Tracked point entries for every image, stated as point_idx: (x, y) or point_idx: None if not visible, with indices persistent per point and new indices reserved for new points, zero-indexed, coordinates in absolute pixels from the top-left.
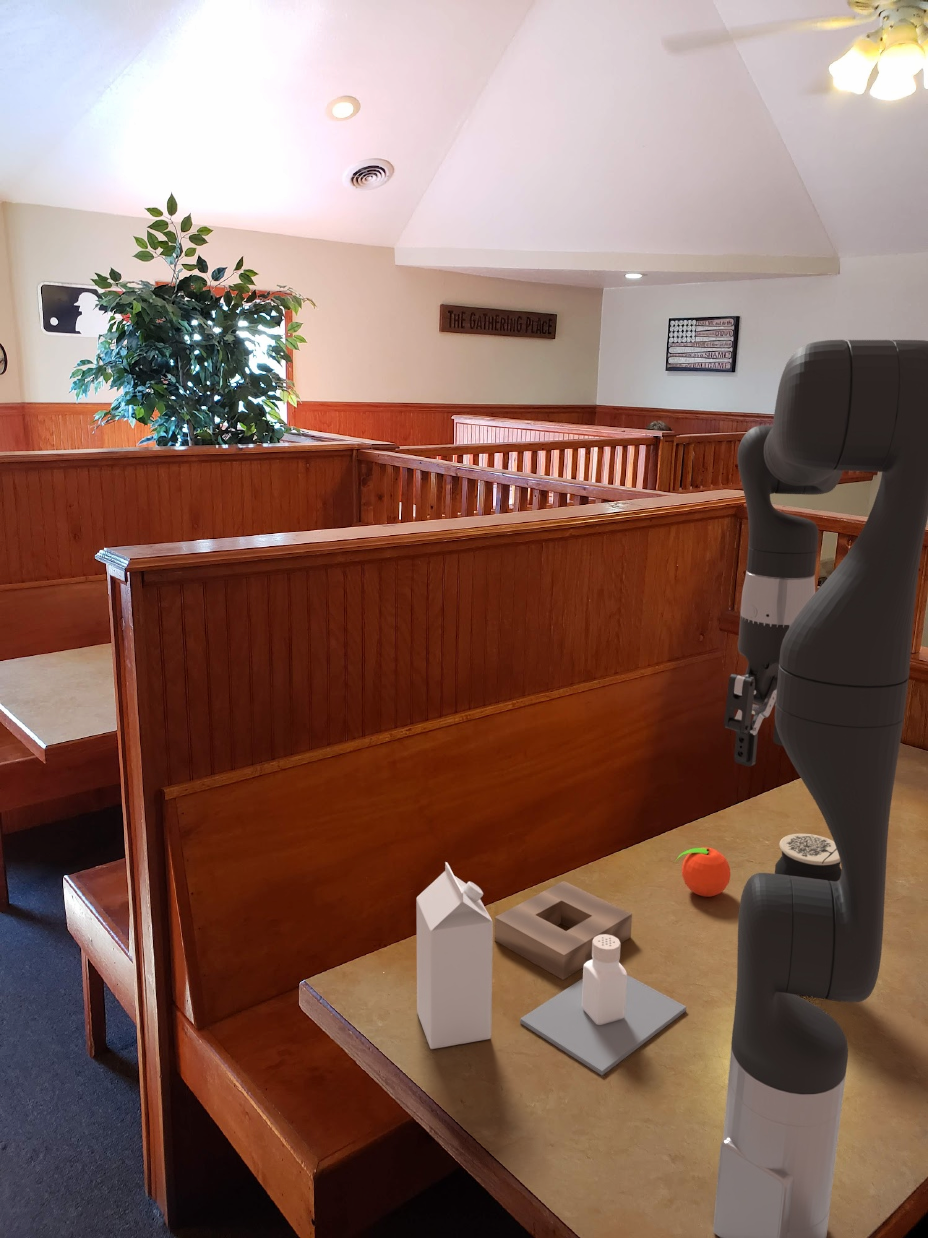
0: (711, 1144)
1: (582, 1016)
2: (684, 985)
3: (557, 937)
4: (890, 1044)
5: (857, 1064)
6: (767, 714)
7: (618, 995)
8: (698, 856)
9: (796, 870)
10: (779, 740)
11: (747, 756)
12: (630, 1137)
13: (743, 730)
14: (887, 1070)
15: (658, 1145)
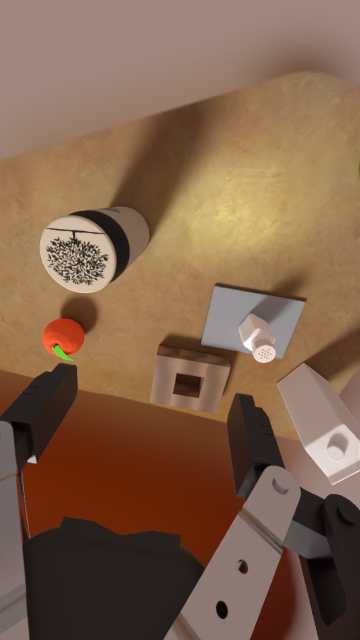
0: (336, 219)
1: None
2: (187, 297)
3: (214, 378)
4: (160, 139)
5: (201, 156)
6: (250, 523)
7: (260, 323)
8: (66, 349)
9: (116, 259)
10: (72, 391)
11: (262, 419)
12: (350, 264)
13: (358, 513)
14: (194, 131)
15: (350, 247)
